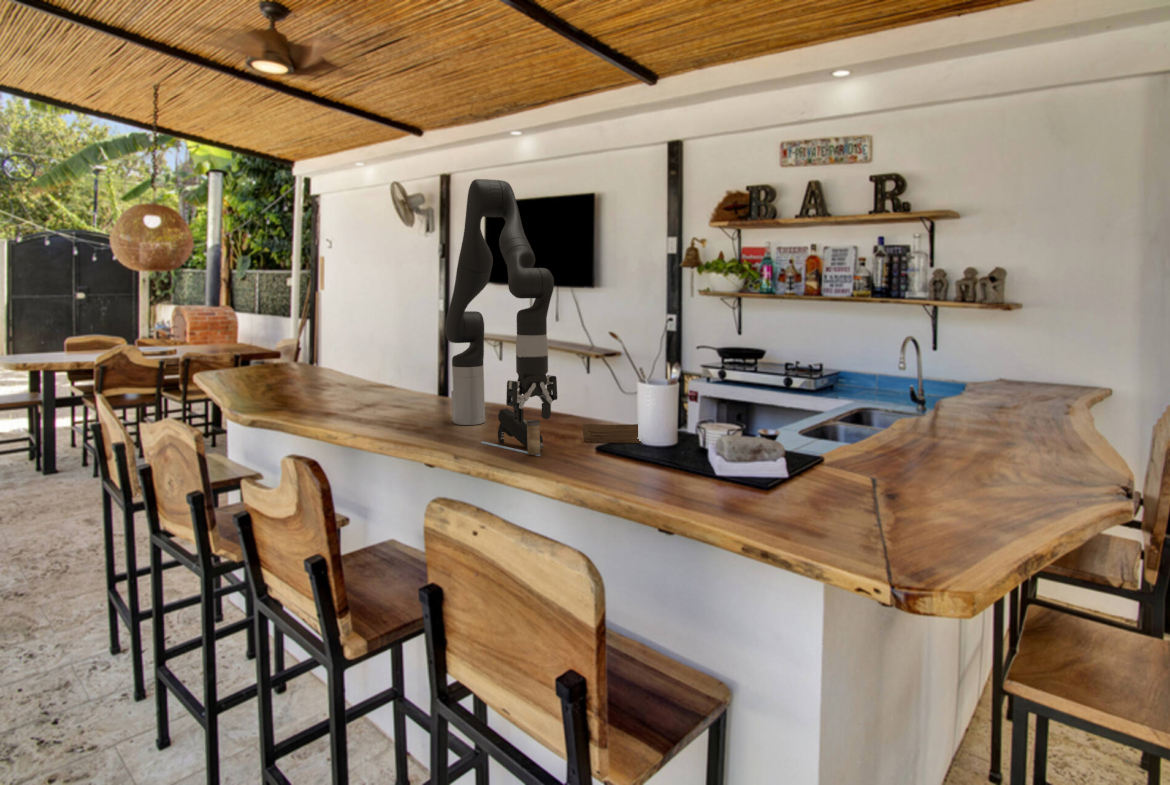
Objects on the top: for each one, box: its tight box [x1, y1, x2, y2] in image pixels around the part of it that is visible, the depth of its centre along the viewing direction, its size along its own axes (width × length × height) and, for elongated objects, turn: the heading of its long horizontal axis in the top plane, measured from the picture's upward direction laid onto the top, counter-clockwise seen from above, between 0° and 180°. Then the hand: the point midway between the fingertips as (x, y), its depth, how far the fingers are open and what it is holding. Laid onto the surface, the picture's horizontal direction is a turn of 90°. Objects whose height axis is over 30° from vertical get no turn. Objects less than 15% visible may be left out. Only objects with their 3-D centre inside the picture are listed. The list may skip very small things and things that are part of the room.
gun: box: [497, 408, 544, 450], centre depth 175 cm, size 3×16×10 cm, turn 50°
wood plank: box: [582, 423, 642, 444], centre depth 179 cm, size 15×2×5 cm, turn 83°
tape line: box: [480, 441, 542, 457], centre depth 172 cm, size 22×1×1 cm, turn 47°
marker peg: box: [526, 419, 541, 456], centre depth 165 cm, size 3×3×8 cm
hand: (532, 421), depth 165 cm, fingers open, 8 cm apart
